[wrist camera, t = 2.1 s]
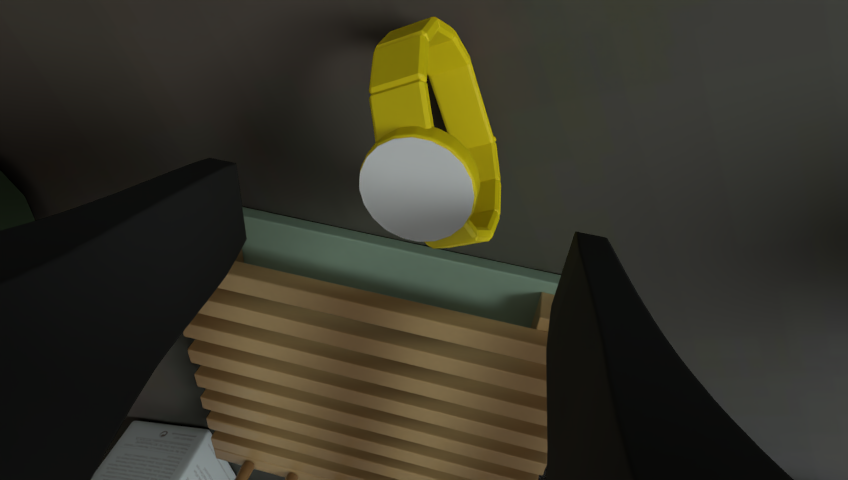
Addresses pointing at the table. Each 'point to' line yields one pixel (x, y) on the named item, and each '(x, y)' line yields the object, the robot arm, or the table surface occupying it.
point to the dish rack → (373, 358)
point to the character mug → (12, 205)
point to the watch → (430, 141)
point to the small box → (163, 455)
